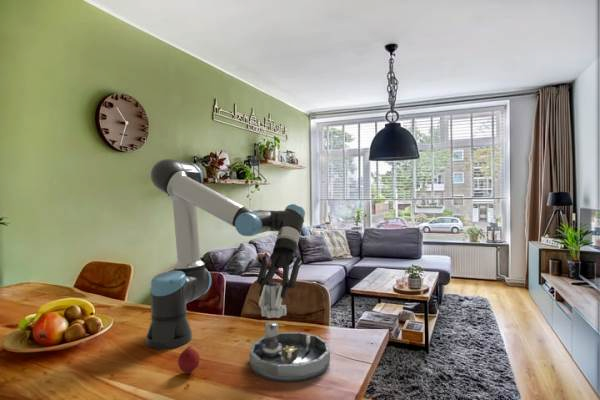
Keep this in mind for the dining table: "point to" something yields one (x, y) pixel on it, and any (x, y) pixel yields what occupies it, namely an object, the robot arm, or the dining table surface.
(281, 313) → the planet gear
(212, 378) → the dining table surface
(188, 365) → the onion
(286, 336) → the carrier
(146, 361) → the dining table surface
